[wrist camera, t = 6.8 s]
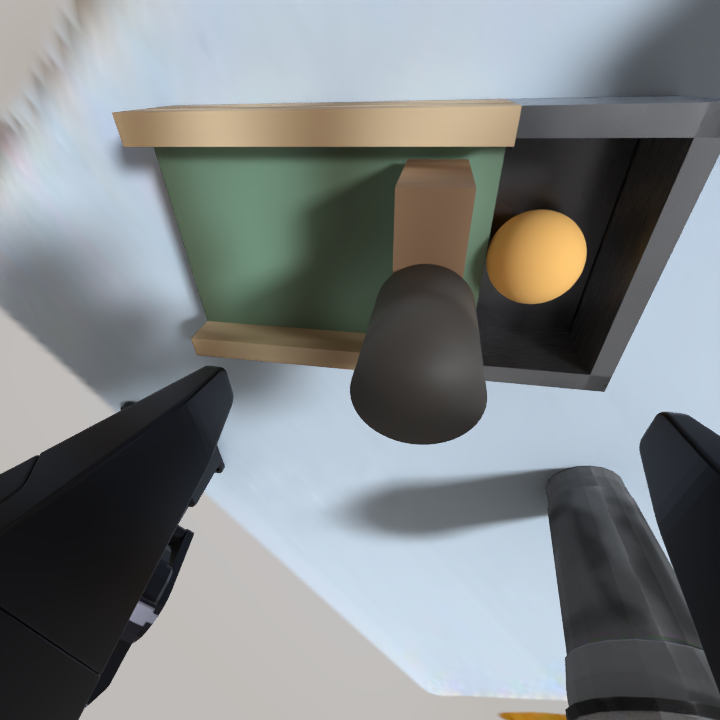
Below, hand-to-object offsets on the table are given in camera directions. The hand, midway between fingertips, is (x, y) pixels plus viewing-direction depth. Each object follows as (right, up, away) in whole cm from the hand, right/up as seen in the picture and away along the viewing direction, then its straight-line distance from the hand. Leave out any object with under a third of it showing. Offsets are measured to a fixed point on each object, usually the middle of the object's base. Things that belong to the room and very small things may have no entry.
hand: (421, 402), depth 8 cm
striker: (+1, +5, +7) cm, 9 cm away
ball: (+6, +4, +5) cm, 9 cm away
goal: (+7, +6, +8) cm, 12 cm away
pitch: (-2, +7, +9) cm, 12 cm away
